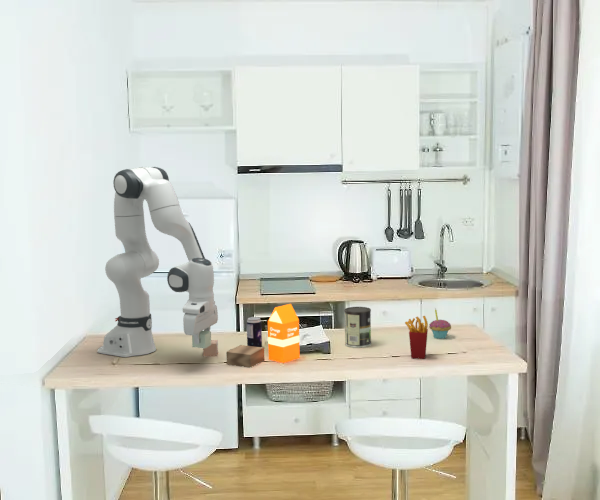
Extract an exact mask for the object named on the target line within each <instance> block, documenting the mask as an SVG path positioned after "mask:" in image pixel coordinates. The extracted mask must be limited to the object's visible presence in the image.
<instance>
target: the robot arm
mask: <svg viewBox="0 0 600 500" xmlns="http://www.w3.org/2000/svg"><path fill="white" fill-rule="evenodd" d="M112 182H113V188H114V197H113V199H114V200H113V216H114V230H115V231H114V232H115V237H116V238H117V240H119V241H120V242H121V243H122V245H123V247H124V248H123V249H124V251H125V252H122V253H119V254H116V255H115V256H113V257H111V258H110V259H109V260H108V261H107V262H106V264H105V268H104V269H105V275H106V276H107V278H108V279H109V280H110V281H111V282H112V283H113V284H114V286H115V288H116V290H117V293H118V297H119V309H120V315H119V316H118V317H116V318H114V322H117V323H116V326H114V327H113V328H112V329H110V331H109V332H107V333H106V334H105V336H104V337H103V341H102V342H103V343H102V344H103V345H102V346H100V347H99V348H98V349H97V354H104V355H108V356H109V355H111V356H116V357H122V358H128V357H133V356H141V355H142V356H143V355H148V354H150V353H153V352H155V351H156V350H157V347H156V345H155V344H156V343H155V341H154V337H153V331H152V329H153V328H152V327H153V324H152V323H153V320H152V319H153V318H152V314H151V308H150V307H151V306H150V295H149V293H148V292H147V291H146V290H145V289H144V287H143V285H142V281H141V279H143V278H146V277H149V276H150V275H152V274H153V273H155V272H156V271H157V270H158V269H159V266H160V259H159V256H158V254H157V253H156V252H155V251H154V250H153V249H152V248H151V246H150V243H149V241H148V238H147V233H146V232H147V231H146V224H145V214H144V213H145V210H144V202H145V201H146V203H147V206H148V211H149V216H150V219H151V222H152V224H153V226H154V228H155V229H156V230H158V232H160V233H162V234H164V235H168V236H171V237H173V238H175V239H177V240H178V241H179V242H180V243H181V245H182V248H183V250H184V252H185V255H186V258H187V260H188V262H186V263H183V264H179V265H176V266H174V267H172V268H171V267H170V269H169V271H168V273H167V276H166V277H167V278H166V280H167V284H168V287H169V289H171V290H172V291H173V292H175V293H185V292H187V293H188V300H187V302H186V303H185V304H184V305H183V306H182V313H184V314H183V323H182V324H183V333H184V334H185V335H187V336H192V335H193V337H194V343H195V344H199V343H201V338H199V334H200V332H201V331H211V327H212V326H214V325H216V324H217V323H218V320H219V315H218V314H219V313H218V306H217V304H216V301H215V294H214V286H215V274H214V272H215V271H214V266H213V264H212V262H211V261H210V260H209V259H207V258H206V257H205V255H204V253H203V251H202V250H203V249H202V247H201V244H200V243H199V240H198V238H197V234H196V232H195V230H194V228H193V226H192V225H191V223H190V221H189V222H188V220H187V219H186V217H185V215H184V214H183V212H182V209H181V206H180V202H179V199H178V196H177V193H176V191H175V189H174V186H173V184H172V183H171V182H170V178H169V176H168V173H167V171H166V170H165V169H164V168H161V167H158V166H157V167H156V166H151V167H150V166H144V167H143V166H141V167H135V168H126V169H123V170H120V171H118V172H117V173H115V174H114V178H113V181H112Z"/></svg>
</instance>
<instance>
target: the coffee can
mask: <svg viewBox="0 0 600 500" xmlns="http://www.w3.org/2000/svg"><path fill="white" fill-rule="evenodd" d="M371 312H372V309H371V308H369V307H367V306H349V307H346V308H344V338H345V339H344V343H345V344H344V345H345V346H346V347H348V348H353V349H354V348H355V349H361V348H368V347H370V346H371V345H372V331H371V330H372V328H371V327H372V325H371V321H372V320H371V318H372V317H371V315H372V314H371Z"/></svg>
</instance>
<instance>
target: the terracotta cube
mask: <svg viewBox="0 0 600 500" xmlns="http://www.w3.org/2000/svg"><path fill="white" fill-rule="evenodd" d="M202 349H203V350H202V353H203V358H204V356H206V357H218V353H219V343H218V339H211V345H210V346H208V347H207V348H205V349H204V348H202Z"/></svg>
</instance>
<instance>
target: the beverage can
mask: <svg viewBox="0 0 600 500" xmlns="http://www.w3.org/2000/svg"><path fill="white" fill-rule="evenodd" d="M262 331H263V330H262V320H261V318H260V317H258V316H251V317H248V318H247V320H246V341H247V342H246V346H254V347H262V348H263V339H262V338H263V336H262V335H263V334H262Z"/></svg>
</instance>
